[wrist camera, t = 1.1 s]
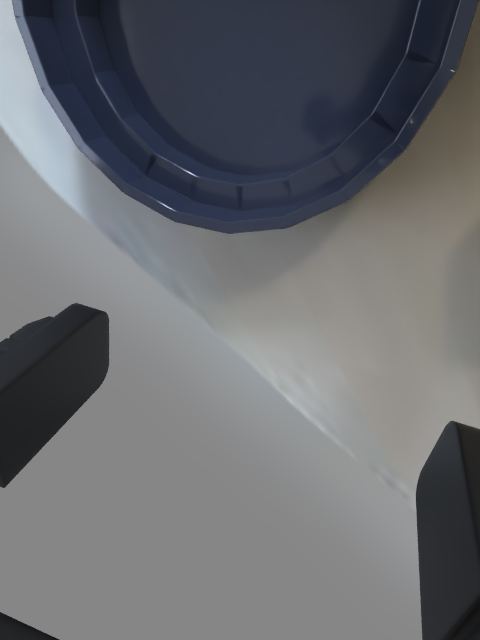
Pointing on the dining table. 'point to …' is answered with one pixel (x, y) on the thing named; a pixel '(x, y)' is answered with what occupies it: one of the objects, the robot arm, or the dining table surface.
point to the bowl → (243, 96)
